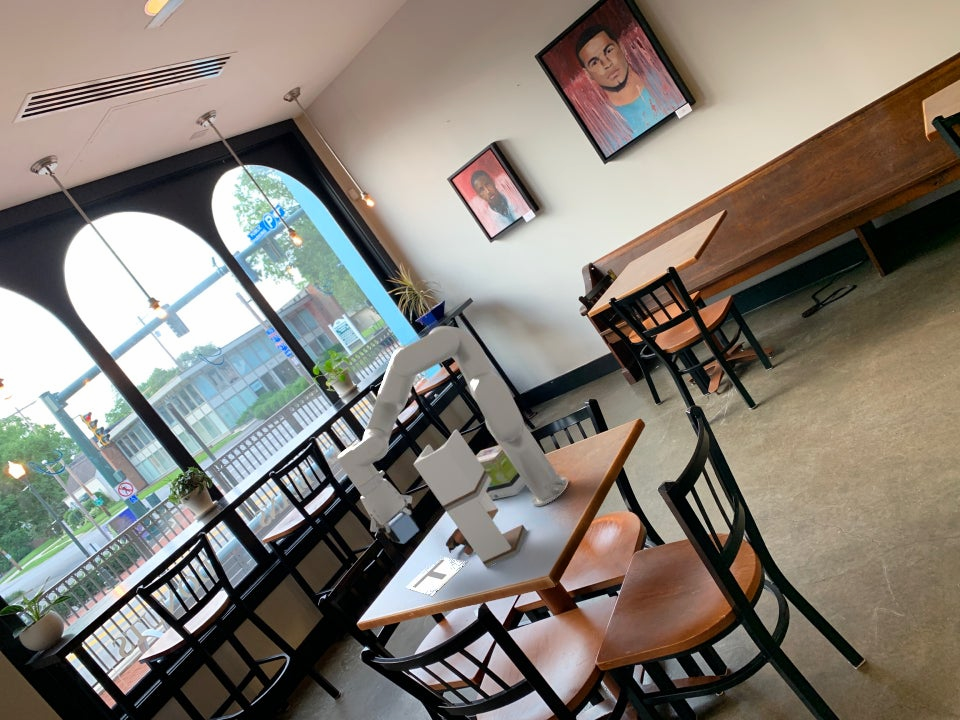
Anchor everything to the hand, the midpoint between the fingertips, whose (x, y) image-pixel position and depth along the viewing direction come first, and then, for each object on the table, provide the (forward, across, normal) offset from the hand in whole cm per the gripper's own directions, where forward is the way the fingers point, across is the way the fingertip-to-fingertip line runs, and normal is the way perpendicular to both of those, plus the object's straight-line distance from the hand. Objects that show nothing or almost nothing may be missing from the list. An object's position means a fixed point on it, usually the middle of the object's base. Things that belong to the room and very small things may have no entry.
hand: (405, 533), depth 212 cm
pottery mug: (+16, -13, +3) cm, 21 cm away
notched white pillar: (+16, -14, +23) cm, 31 cm away
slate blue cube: (+1, 0, 0) cm, 1 cm away
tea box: (+16, -40, -10) cm, 44 cm away
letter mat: (+15, 0, 0) cm, 15 cm away
